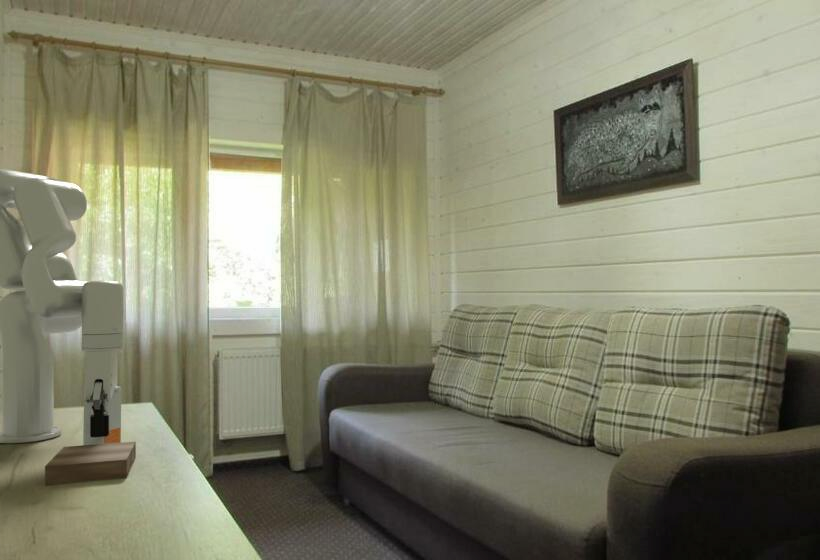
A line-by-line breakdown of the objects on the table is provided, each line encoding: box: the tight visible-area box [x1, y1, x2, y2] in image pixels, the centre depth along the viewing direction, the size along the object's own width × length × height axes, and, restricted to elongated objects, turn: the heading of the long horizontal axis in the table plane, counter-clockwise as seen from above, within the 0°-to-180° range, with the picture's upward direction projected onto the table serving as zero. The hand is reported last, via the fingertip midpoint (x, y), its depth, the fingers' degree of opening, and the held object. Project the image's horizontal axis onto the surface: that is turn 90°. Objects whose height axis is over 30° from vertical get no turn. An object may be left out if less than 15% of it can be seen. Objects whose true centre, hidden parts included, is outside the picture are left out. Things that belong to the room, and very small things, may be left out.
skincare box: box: [82, 386, 122, 445], centre depth 126 cm, size 6×4×12 cm
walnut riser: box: [44, 440, 137, 486], centre depth 110 cm, size 14×12×3 cm
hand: (102, 431), depth 126 cm, fingers closed on skincare box, 7 cm apart
